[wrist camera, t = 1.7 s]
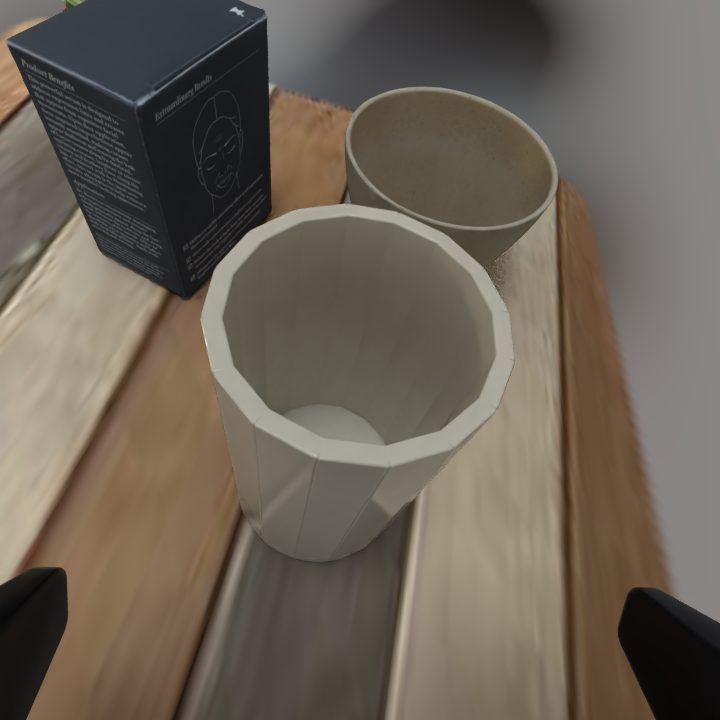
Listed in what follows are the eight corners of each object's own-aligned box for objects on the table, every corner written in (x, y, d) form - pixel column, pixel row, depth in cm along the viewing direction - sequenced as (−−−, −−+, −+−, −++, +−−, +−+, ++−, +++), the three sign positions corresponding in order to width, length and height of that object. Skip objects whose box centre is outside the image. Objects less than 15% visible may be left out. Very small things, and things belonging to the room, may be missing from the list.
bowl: (445, 184, 32) (486, 75, 26) (529, 300, 28) (601, 203, 22) (303, 212, 29) (311, 95, 23) (375, 349, 25) (409, 251, 19)
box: (192, 172, 29) (156, -41, 20) (273, 213, 28) (274, 12, 19) (95, 253, 25) (-4, 32, 16) (186, 303, 24) (136, 102, 15)
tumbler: (421, 531, 21) (569, 415, 10) (258, 587, 19) (242, 510, 8) (368, 389, 24) (441, 191, 13) (223, 423, 22) (179, 221, 11)
